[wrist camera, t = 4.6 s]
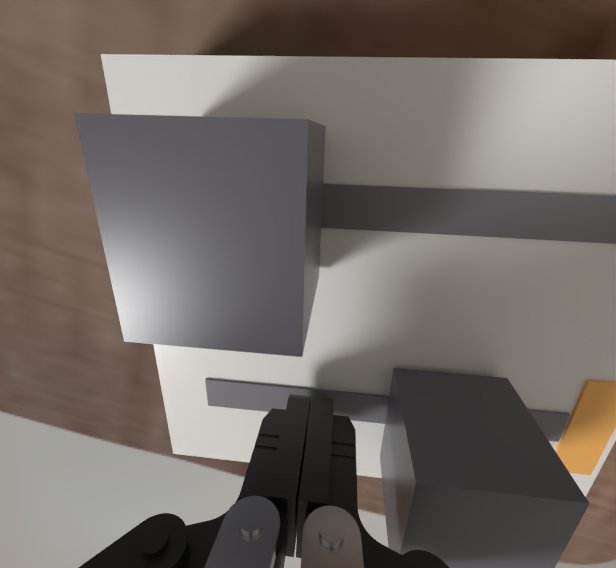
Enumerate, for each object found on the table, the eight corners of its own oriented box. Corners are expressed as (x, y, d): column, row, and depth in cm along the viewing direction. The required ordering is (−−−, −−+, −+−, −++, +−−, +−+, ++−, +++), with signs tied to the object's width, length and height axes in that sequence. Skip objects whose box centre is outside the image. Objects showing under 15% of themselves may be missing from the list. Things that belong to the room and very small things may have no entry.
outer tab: (379, 456, 13) (392, 587, 9) (393, 367, 11) (415, 482, 7) (478, 467, 12) (532, 606, 9) (507, 378, 11) (589, 503, 7)
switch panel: (209, 388, 18) (172, 455, 14) (174, 78, 12) (98, 53, 9) (531, 420, 16) (584, 503, 13) (658, 86, 11) (822, 60, 7)
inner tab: (203, 268, 10) (124, 341, 7) (188, 122, 9) (73, 112, 5) (319, 276, 10) (302, 356, 6) (325, 126, 8) (308, 119, 5)
